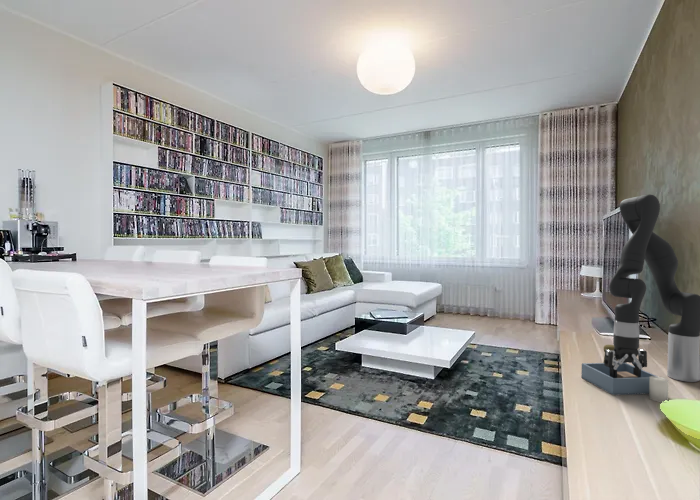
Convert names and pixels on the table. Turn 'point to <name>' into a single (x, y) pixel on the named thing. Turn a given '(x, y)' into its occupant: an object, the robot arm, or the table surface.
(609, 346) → the cork
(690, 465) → the table surface
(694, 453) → the table surface
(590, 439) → the table surface
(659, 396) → the ceramic canister
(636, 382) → the tote
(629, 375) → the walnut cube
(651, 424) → the table surface
